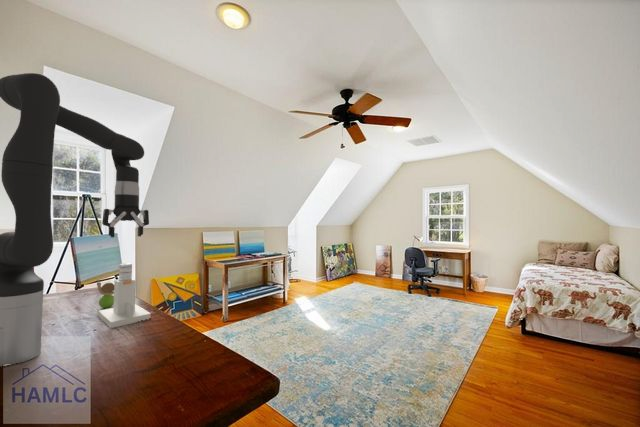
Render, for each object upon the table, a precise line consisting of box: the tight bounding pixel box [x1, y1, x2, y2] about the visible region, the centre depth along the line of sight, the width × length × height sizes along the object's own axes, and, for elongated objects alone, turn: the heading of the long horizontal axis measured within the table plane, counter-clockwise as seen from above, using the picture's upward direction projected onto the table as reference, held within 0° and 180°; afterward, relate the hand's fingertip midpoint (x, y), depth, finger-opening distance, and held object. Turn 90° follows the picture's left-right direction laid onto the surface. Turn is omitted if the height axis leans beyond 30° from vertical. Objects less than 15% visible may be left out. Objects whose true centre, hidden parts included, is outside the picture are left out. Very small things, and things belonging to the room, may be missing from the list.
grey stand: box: [97, 277, 152, 329], centre depth 102 cm, size 18×12×14 cm, turn 50°
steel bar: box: [118, 262, 133, 281], centre depth 102 cm, size 3×3×17 cm
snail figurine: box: [96, 279, 114, 309], centre depth 112 cm, size 5×6×12 cm
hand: (126, 236), depth 102 cm, fingers open, 8 cm apart
